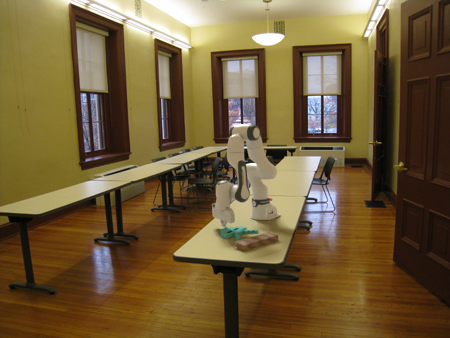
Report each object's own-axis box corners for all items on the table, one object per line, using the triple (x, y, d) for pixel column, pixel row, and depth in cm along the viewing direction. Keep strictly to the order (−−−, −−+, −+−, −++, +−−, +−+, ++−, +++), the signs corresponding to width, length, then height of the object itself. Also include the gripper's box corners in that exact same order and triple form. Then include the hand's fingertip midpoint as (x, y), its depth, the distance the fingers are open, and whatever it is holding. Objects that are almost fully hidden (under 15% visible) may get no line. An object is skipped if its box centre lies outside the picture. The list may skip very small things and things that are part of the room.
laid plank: (268, 237, 218) (268, 231, 218) (278, 240, 212) (278, 235, 212) (234, 247, 203) (234, 241, 203) (243, 251, 197) (243, 245, 196)
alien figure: (258, 233, 228) (233, 227, 240) (258, 229, 227) (233, 224, 240) (238, 242, 212) (213, 235, 225) (238, 238, 212) (213, 232, 225)
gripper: (237, 208, 227) (237, 229, 229) (218, 202, 244) (218, 222, 246) (229, 209, 224) (229, 231, 226) (210, 204, 240) (211, 224, 242)
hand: (223, 226), depth 236 cm, fingers closed
